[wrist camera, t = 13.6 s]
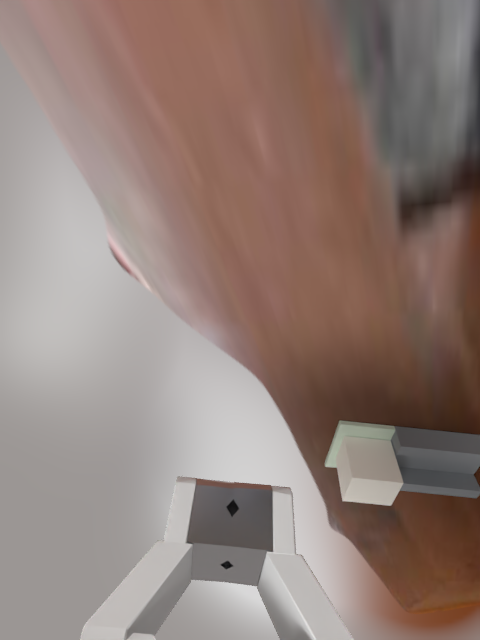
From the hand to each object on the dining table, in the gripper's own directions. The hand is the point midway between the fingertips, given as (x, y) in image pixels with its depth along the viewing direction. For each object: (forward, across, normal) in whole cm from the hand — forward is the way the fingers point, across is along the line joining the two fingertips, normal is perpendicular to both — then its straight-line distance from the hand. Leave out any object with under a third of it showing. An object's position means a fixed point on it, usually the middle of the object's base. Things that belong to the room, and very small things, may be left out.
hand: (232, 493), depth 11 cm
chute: (+29, -24, +33) cm, 50 cm away
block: (+28, -18, +33) cm, 47 cm away
